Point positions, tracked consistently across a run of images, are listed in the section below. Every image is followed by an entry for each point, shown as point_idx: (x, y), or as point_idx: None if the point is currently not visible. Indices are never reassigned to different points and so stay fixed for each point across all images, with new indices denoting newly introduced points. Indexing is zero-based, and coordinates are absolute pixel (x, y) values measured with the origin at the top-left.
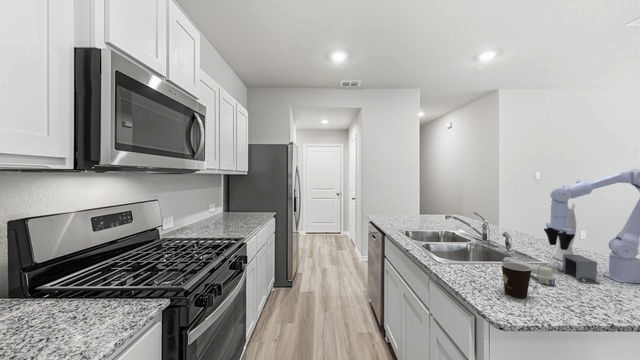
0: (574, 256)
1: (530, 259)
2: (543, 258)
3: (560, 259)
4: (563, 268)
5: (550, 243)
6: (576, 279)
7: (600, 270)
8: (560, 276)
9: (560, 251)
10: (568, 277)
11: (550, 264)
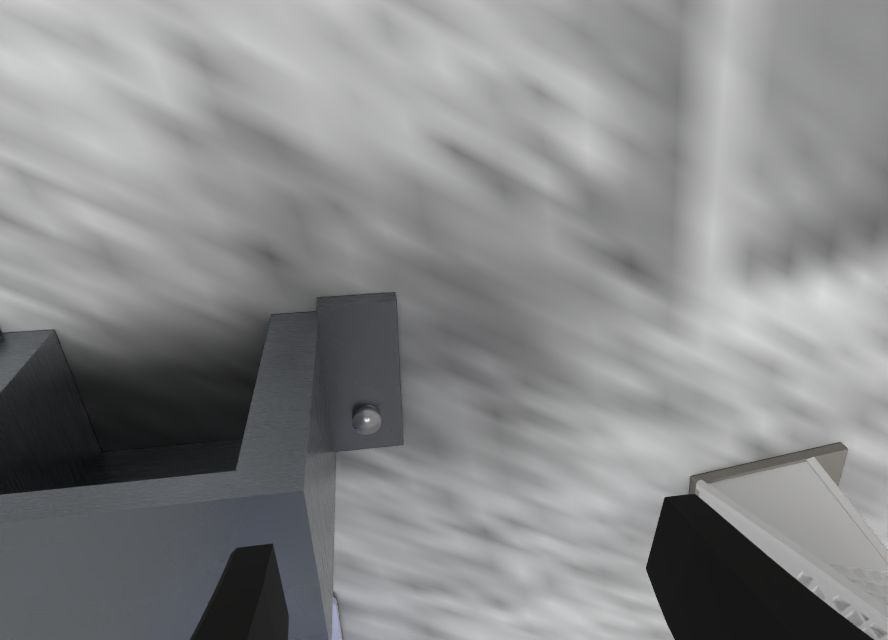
0: (184, 583)
1: (835, 177)
2: (838, 352)
3: (748, 478)
4: (299, 342)
5: (684, 523)
6: (43, 332)
7: (470, 620)
8: (112, 203)
9: (801, 550)
10: (112, 284)
11: (622, 322)
